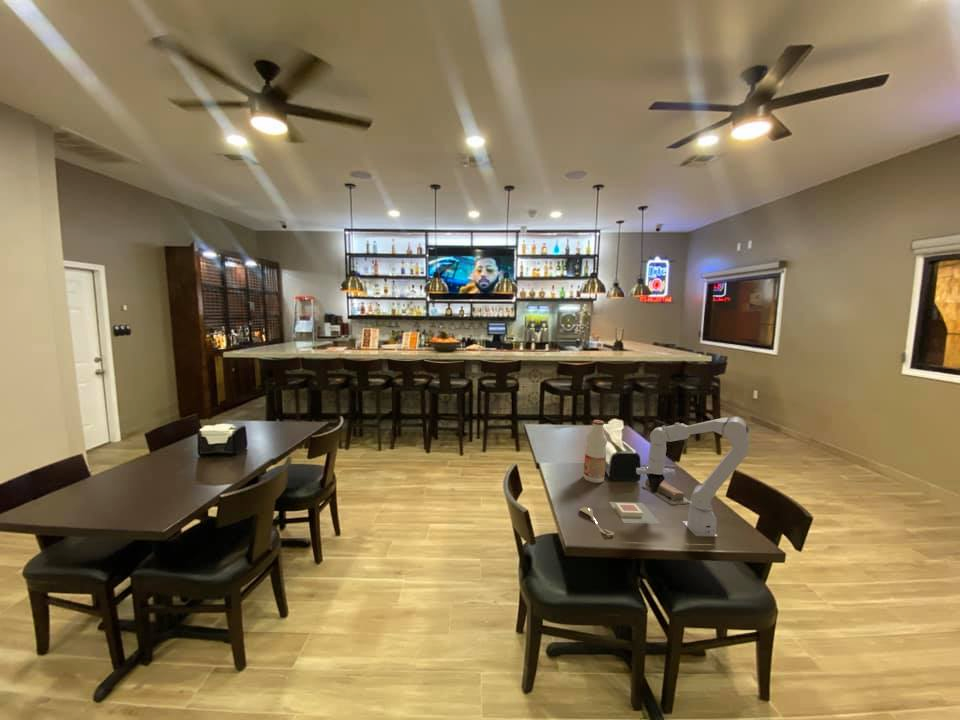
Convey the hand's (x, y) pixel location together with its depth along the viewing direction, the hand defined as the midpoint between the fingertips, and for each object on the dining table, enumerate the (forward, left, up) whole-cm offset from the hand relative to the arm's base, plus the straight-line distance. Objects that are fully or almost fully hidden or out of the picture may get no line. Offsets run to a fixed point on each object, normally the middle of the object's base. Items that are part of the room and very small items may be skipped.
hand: (653, 491), depth 154 cm
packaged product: (+17, -14, -10) cm, 24 cm away
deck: (0, +5, -8) cm, 9 cm away
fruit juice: (+31, +13, -9) cm, 35 cm away
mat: (0, +7, -9) cm, 11 cm away
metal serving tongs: (-8, +25, -10) cm, 28 cm away
